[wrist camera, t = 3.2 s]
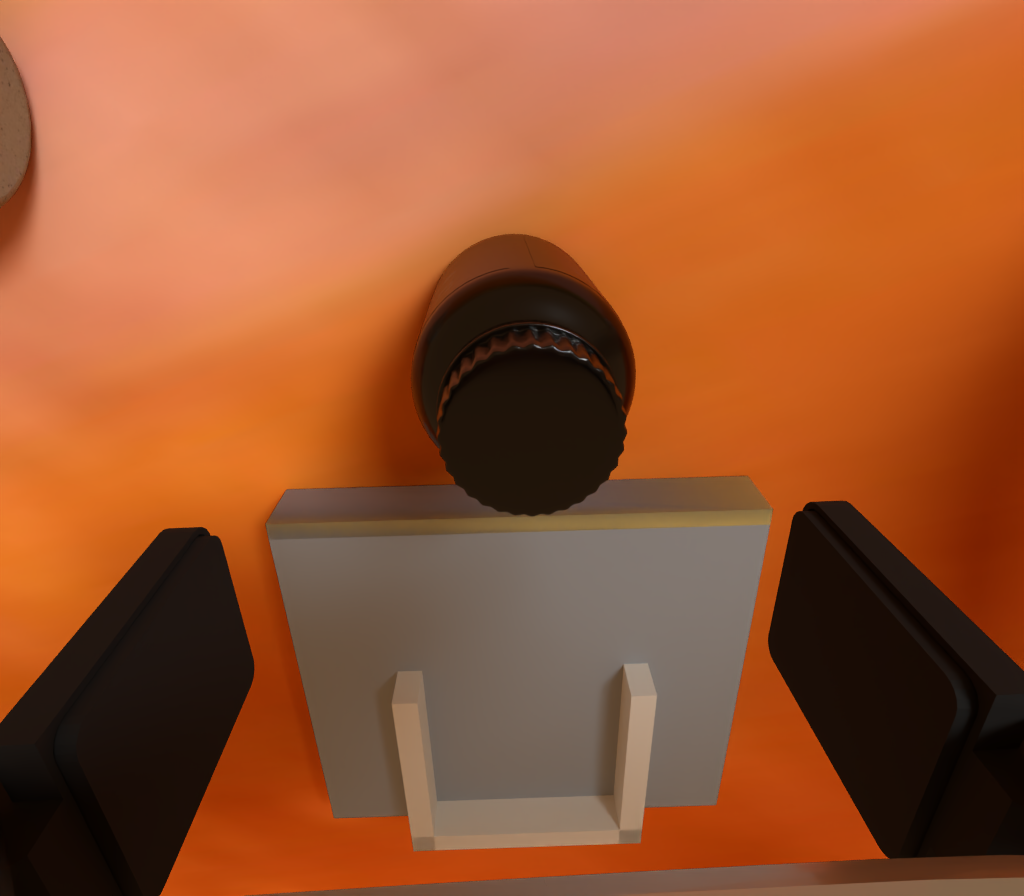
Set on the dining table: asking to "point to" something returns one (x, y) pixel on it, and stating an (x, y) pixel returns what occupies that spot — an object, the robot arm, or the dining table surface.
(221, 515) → the dining table surface
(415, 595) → the dock
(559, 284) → the supplement bottle
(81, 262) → the dining table surface
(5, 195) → the ceramic mug
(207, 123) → the dining table surface
